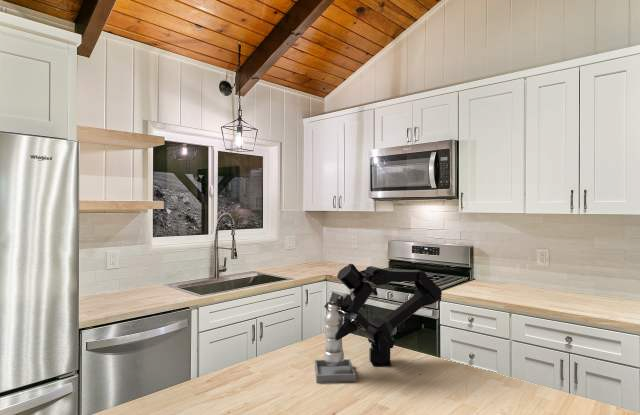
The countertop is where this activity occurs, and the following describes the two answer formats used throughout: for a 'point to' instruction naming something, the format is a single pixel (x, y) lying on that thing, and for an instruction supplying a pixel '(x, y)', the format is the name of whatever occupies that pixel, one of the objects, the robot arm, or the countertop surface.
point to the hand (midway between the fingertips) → (331, 336)
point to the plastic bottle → (333, 336)
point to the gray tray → (334, 372)
